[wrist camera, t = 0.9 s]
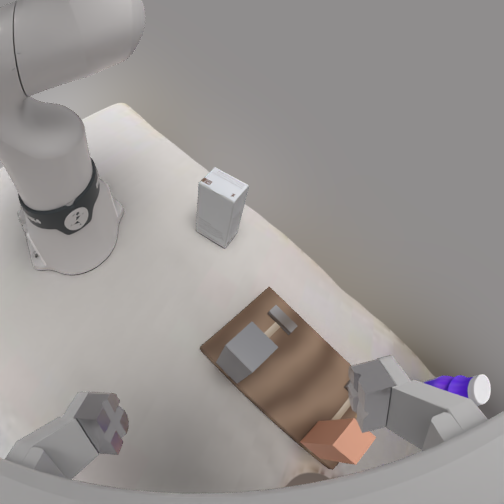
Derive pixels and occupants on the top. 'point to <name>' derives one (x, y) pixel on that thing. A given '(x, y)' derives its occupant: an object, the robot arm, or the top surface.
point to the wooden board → (289, 370)
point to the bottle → (464, 387)
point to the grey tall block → (245, 352)
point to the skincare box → (220, 206)
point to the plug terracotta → (338, 440)
